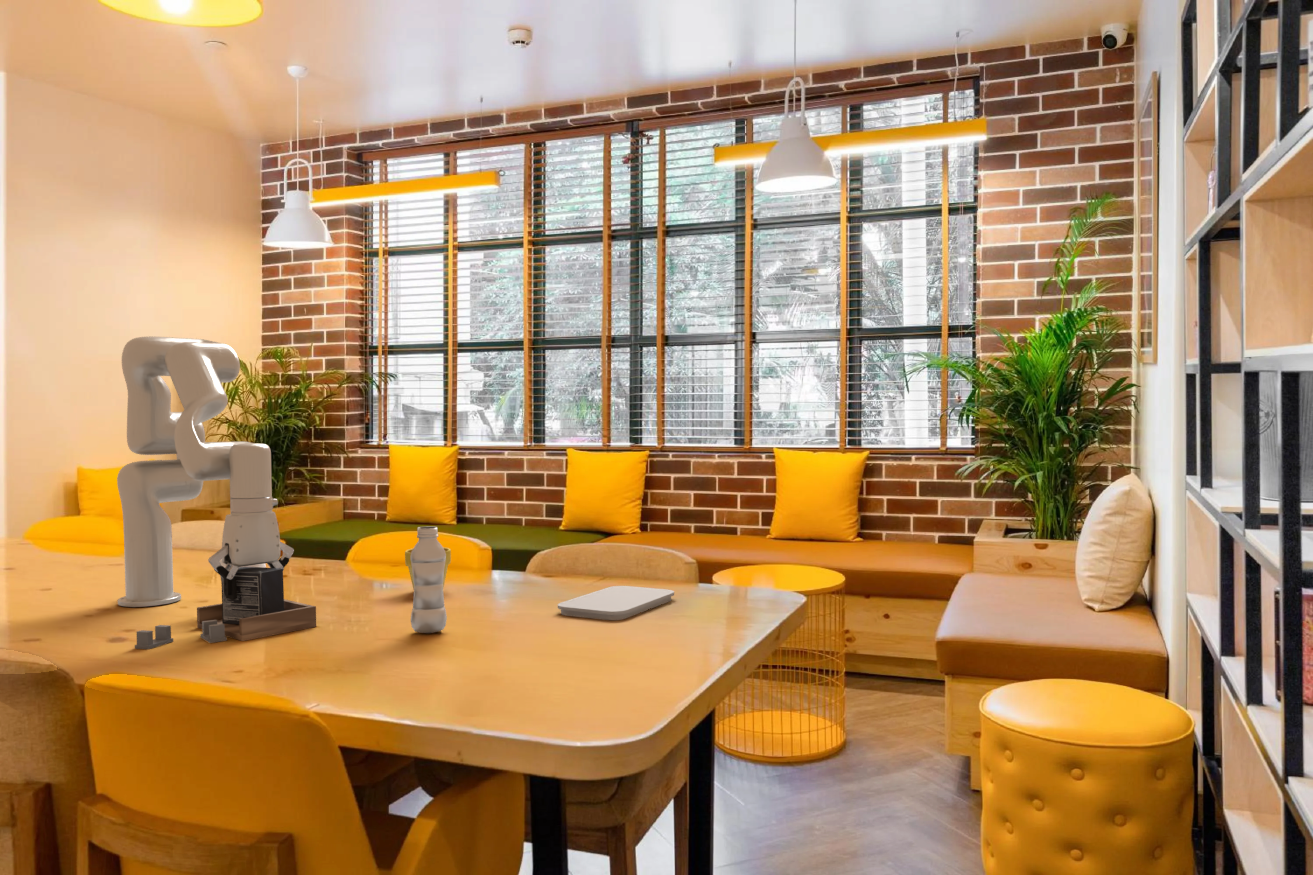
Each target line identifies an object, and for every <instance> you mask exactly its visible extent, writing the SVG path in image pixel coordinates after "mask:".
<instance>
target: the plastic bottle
mask: <svg viewBox="0 0 1313 875" xmlns="http://www.w3.org/2000/svg"><path fill="white" fill-rule="evenodd" d="M438 537H439V532H438V526H429V525H428V526H418V527H417V535H416V538H417V539H418V541H417V543H415V545H414V546H413V548H412V549H413V550H412V553H411V556H410V557H411V565H412V572H413V582H414V590H413V599H412V600H413V601H412V609H411V614H410V624H411V629H413V630H414V632H416V633H420V634H433V633H437V632H441V631H444V629H445V627H446V625H447V620H448V619H447V618H448V615H447V609H446V607H445V598H444V588H443V578H444V568H445V560H446V553H445V550H444V548H443V547H444V546H443V545H442V544H441V543H440V542H439V540H438Z"/></svg>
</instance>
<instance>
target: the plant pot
mask: <svg viewBox="0 0 1313 875" xmlns="http://www.w3.org/2000/svg"><path fill="white" fill-rule="evenodd" d="M442 547H443V548H444V550H445V553H446V560H445V568H444V578H443V589H444V588H445V583H446V577H447V573H448V569H449V568H448V567H449V565H450V564H451V562H452V550H451V548H449V547H444V546H442ZM412 550H413V548H410V549H409V548H408V549H406V550H405V551H404V561H405V562H404V563H405V566H407V567H408V570H409V571H408V572H409V575H410V580H411V581H410V582H411V584H412V588H413V589H412V590H413V591H414V582H413V572H412V565H411V557H410V556H411V553H412Z"/></svg>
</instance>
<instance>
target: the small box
mask: <svg viewBox="0 0 1313 875" xmlns="http://www.w3.org/2000/svg"><path fill="white" fill-rule="evenodd" d="M234 579H236V581H237V599H235V600H231V599H227V598H226V595H225V594H224V578H222V577H220V581H221V582H220V583H221V604H222V619H223V620H222V623H223V624H237V625H239V619H241V618H246V617H252V616H258V615H264V614H269V613H275V612H281V611H284V599H285V595H284V594H285V593H284V591H285V590H284V570H283V568H270V567H266V568H263V567H240V568H239V569H238V570H237V572H236V574H235V575H234Z"/></svg>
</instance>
